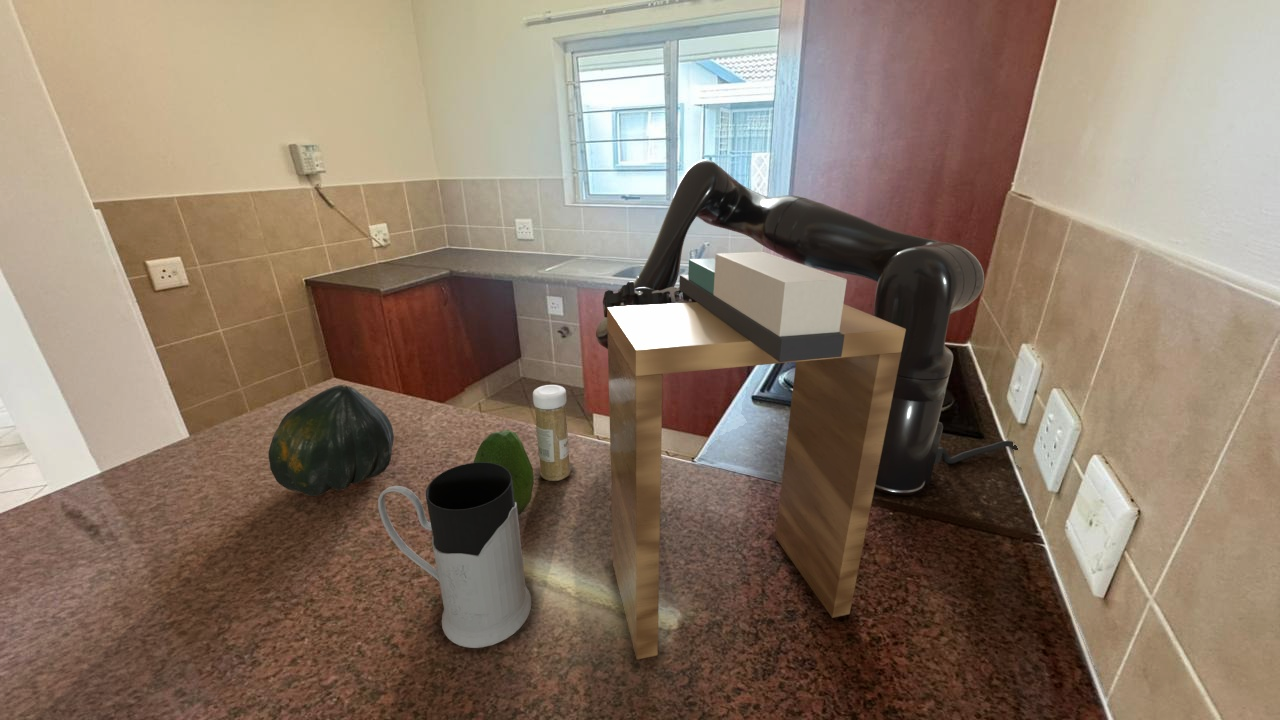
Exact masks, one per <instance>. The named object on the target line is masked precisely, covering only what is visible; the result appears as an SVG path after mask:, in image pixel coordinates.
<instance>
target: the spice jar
mask: <svg viewBox="0 0 1280 720" xmlns="http://www.w3.org/2000/svg"><path fill="white" fill-rule="evenodd" d="M532 391H533V392H532V403H533V407H534V412H535V429H536V441H537V450H538V457H539V466H540V469H539V475H540V477H541V478H542V479H544V480H546V481H550V482H557V481H561V480H564V479H566V478H567V477H568V476H570V474H571V470H572V469H571V466H570V446H569V435H568V434H569V433H568V422H567V408H566V405H567V400H568V399H567V390H566V388H565V387H563V386H562V385H559V384H545V385H541V386H539V387H536V388H535V389H534V390H532Z"/></svg>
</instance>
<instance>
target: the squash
mask: <svg viewBox="0 0 1280 720" xmlns="http://www.w3.org/2000/svg"><path fill="white" fill-rule="evenodd" d="M394 434H395V433H394V429H393V425H392V423H391V420H390V419H389V417H388V416H387V414H386V413H385V412H384V411H383V410H381V408H380V407H378V406H377V405H376V403H374V401H372V400H371V399H369V398H368V397H367V396H365V395H364V394H362V393H360V391H358V390H357V389H355V388H354V387H352V386H349V385H347V384H339V385H334V386H332V387H329V388H327V389H325V390H323V391H321V392H319V393H317V394H316V395H313V396H312V397H310V398H309V399H307V400H306V401H304V402H303V403H301V404H300V405H298V406H296V407H294V408H293V409H291V410H289V412H287V413H286V414H285V415H284V417H283V418H282V419H281V421H280V422H279V425H278V427H277V428H276V430H275V432H274V434H273V436H272V438H271V442H270V445H269V449H268V462H269V469H270V471H271V474H272V475H273V476H274V479H275V480H276V482H277V483H278V484H279V485H280V486H281V487H283V488H284V489H286V490H289V491H292V492H299V493H301V494H303V495H305V496H310V497H315V496H321V495H324V494H326V493H327V492H329V491H330V490H331V489H333V490H335V491H343V490H344V491H345V490H347V489H348V488H349V487H350V486H351V485H356V484H359V483H362V482H364V481H365V480H368V479H370V478H374V477H376V476H379V475H381V474H382V473H384V471H385V470H387V468H388V466H389V465H390V464H391V460H392V454H393V445H394V439H395V436H394Z"/></svg>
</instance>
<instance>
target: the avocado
mask: <svg viewBox="0 0 1280 720" xmlns="http://www.w3.org/2000/svg"><path fill="white" fill-rule="evenodd" d="M476 462H487V463H494V464H498V465H501V466H503V467H505V468H506V469H507V470H508V471H509V472H510V474H511V476H512V484H513V493H514V503H515V502H516V503H517V513H518V516H519V515H521V514H522V513H523V512H524V511H525V510H526V508H527V506H528V505H529V504H530V502H531V499H532V495H533V490H534V485H535V479H534V469H533V465H532V463H531V461H530V458H529V456H528V454H527V451H526V448H525V447H524V444H523V443H522V440H521V439H520V438H519V436H518V434H517V433H516V432H514V431H511V430H509V429H505V430H499V431H494V432H491V433H490V434H488V435H487V436H486V437H485V438H484V440H482V442H481V443H480V445H479V447H478V449H477V450H476V454H475V456H474V459H473V462H472V463H476Z"/></svg>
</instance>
